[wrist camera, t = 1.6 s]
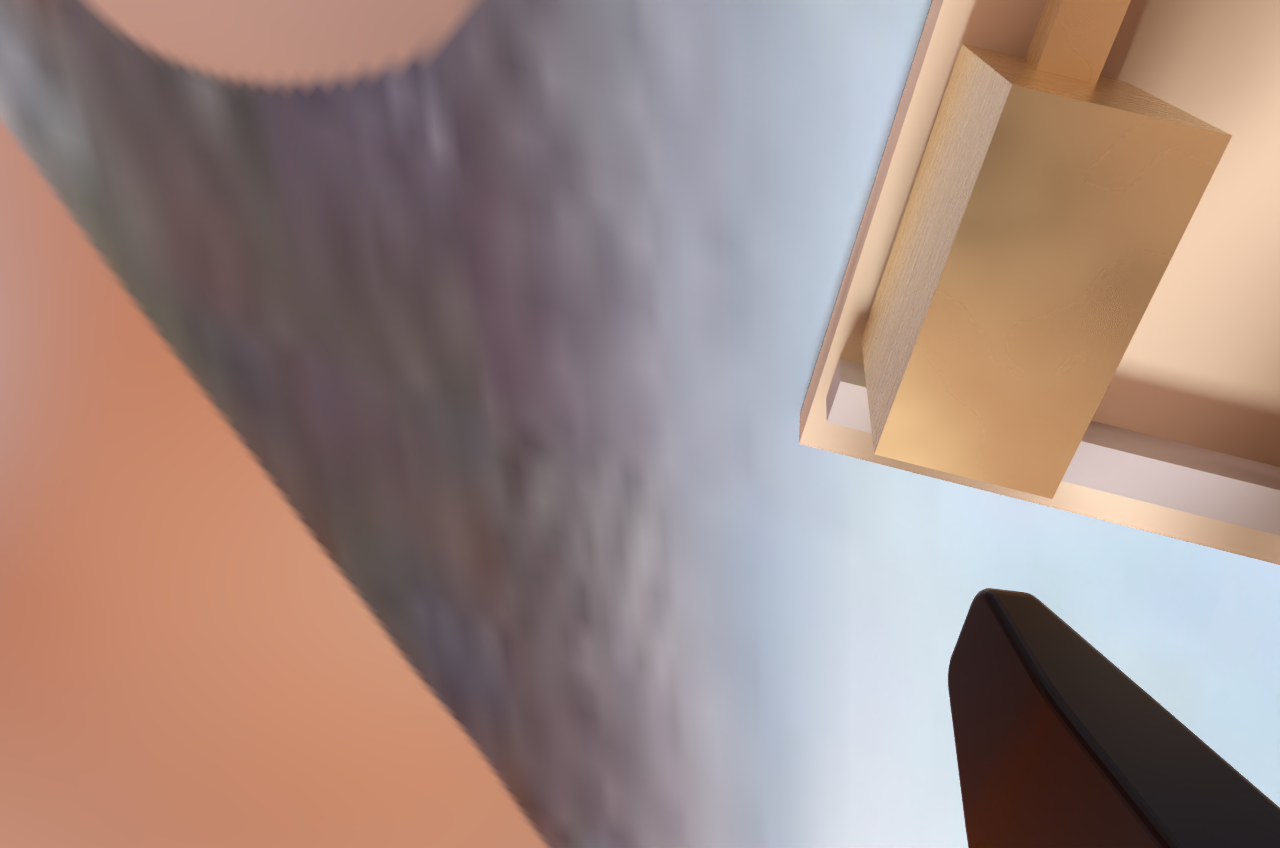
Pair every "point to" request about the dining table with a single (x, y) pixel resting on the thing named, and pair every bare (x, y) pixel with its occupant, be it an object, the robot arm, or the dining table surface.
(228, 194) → the dining table surface
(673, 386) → the dining table surface
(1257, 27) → the marking board
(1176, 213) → the sliding jaw
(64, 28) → the dining table surface
